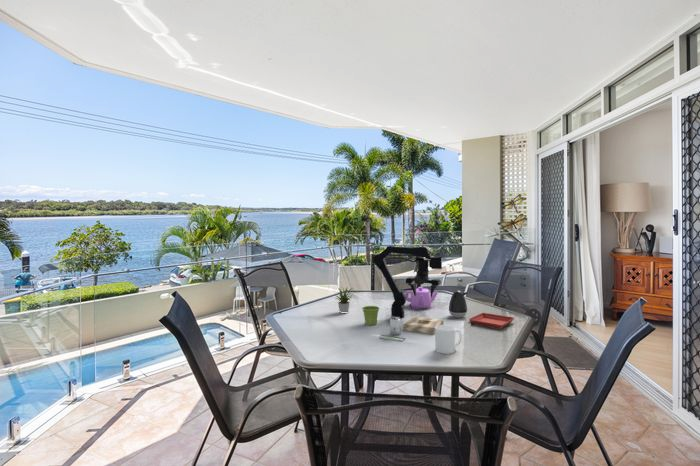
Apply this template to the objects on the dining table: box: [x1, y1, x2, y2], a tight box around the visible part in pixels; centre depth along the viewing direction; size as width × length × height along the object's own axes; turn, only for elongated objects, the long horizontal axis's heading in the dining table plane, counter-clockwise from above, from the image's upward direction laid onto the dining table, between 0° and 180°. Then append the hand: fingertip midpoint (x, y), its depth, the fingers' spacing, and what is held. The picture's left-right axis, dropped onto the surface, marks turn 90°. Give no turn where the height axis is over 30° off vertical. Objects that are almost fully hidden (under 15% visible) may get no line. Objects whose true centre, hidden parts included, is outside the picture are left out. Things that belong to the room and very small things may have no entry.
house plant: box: [333, 286, 355, 313], centre depth 229 cm, size 14×14×16 cm
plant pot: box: [362, 305, 380, 326], centre depth 204 cm, size 9×9×9 cm
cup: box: [434, 324, 463, 355], centre depth 162 cm, size 8×12×10 cm
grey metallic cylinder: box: [389, 316, 402, 337], centre depth 182 cm, size 5×5×8 cm
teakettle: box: [405, 286, 439, 310], centre depth 242 cm, size 17×17×12 cm
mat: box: [378, 334, 407, 342], centre depth 182 cm, size 12×12×1 cm
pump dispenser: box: [448, 290, 468, 319], centre depth 215 cm, size 10×10×15 cm
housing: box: [402, 315, 445, 335], centre depth 192 cm, size 16×16×4 cm
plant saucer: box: [468, 312, 515, 330], centre depth 200 cm, size 18×18×3 cm
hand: (423, 296), depth 210 cm, fingers open, 9 cm apart
